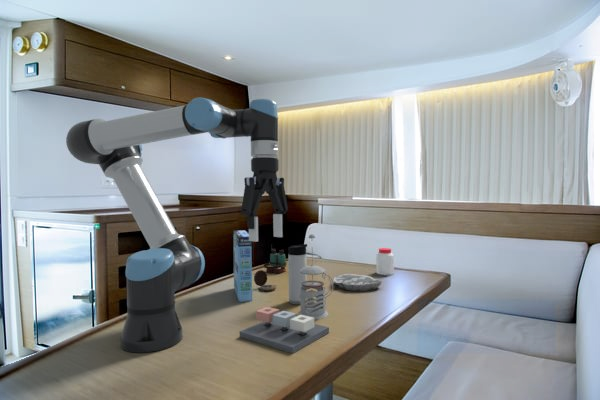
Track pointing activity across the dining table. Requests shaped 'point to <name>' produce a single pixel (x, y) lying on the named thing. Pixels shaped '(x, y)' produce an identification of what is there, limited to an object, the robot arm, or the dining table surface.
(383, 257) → the pill bottle
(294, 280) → the travel mug
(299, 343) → the keyboard base
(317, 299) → the french press
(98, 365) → the dining table surface
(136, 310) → the robot arm
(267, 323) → the pink cube
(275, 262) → the binoculars
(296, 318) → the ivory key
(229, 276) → the dining table surface
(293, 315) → the grey key
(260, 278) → the compass
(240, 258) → the gum box
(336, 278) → the brain slice
